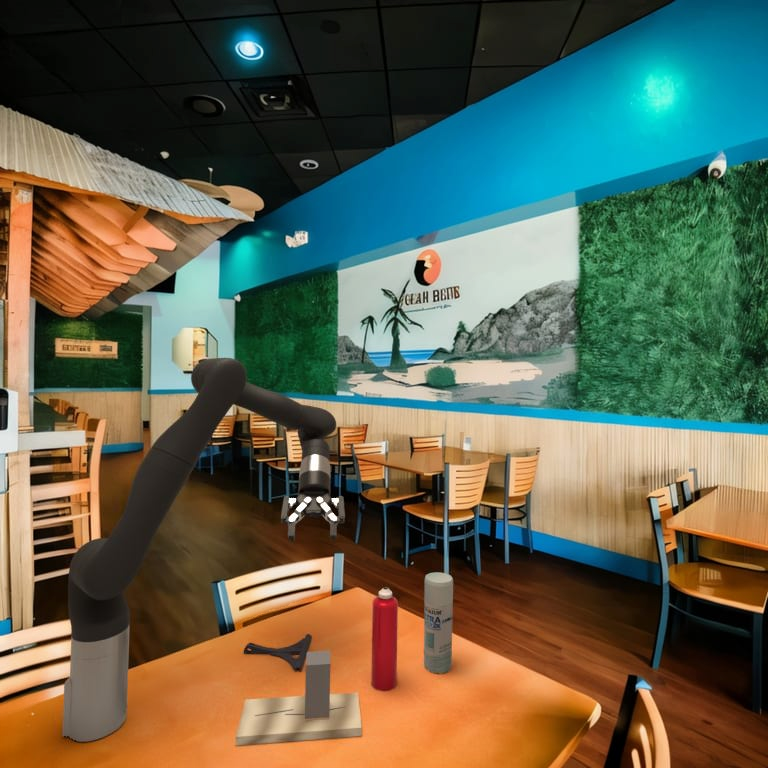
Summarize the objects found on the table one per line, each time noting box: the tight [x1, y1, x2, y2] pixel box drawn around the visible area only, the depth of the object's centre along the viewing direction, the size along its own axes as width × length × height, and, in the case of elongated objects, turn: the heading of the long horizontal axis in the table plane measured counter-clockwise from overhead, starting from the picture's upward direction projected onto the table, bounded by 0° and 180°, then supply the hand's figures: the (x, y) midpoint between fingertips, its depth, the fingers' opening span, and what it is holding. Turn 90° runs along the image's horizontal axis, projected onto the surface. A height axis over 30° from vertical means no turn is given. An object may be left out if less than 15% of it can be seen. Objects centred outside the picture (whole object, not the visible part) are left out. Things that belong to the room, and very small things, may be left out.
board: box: [235, 691, 363, 747], centre depth 87 cm, size 22×10×2 cm, turn 97°
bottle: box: [370, 586, 399, 692], centre depth 100 cm, size 6×5×20 cm
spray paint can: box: [423, 571, 454, 674], centre depth 106 cm, size 6×6×20 cm
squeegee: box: [243, 633, 313, 673], centre depth 110 cm, size 14×15×3 cm
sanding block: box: [304, 650, 331, 721], centre depth 88 cm, size 5×5×10 cm
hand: (312, 539), depth 102 cm, fingers open, 8 cm apart
